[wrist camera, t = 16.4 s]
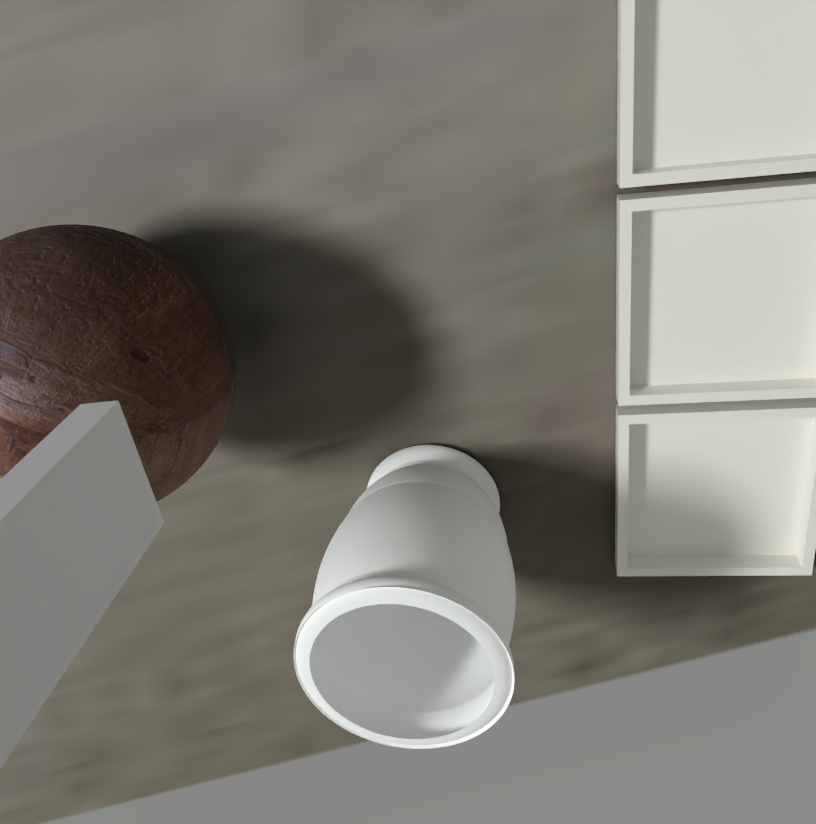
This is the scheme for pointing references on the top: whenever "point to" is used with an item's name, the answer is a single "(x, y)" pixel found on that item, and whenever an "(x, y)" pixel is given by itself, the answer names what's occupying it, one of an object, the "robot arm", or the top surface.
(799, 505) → the tray
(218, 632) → the top surface
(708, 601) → the top surface
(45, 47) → the top surface
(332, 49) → the top surface
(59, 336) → the wooden sphere
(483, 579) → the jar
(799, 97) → the tray
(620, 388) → the tray middle
